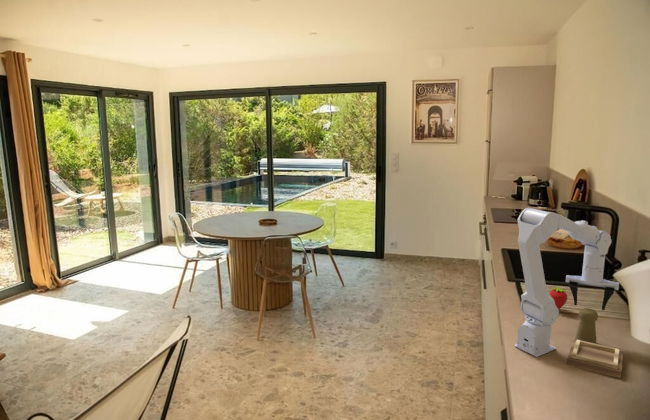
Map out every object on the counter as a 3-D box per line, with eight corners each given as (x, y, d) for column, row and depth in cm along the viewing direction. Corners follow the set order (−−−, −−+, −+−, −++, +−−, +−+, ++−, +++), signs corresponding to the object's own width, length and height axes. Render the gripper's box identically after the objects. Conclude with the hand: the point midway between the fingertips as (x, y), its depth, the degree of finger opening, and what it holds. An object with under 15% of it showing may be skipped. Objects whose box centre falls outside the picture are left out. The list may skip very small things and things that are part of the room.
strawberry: (550, 313, 162) (552, 287, 160) (546, 305, 169) (548, 280, 167) (568, 314, 160) (570, 288, 158) (563, 306, 167) (565, 281, 166)
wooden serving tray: (620, 378, 120) (621, 368, 119) (566, 364, 127) (567, 355, 127) (622, 357, 130) (623, 348, 130) (572, 346, 138) (573, 337, 137)
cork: (576, 336, 144) (579, 304, 142) (598, 341, 140) (601, 309, 138) (572, 343, 139) (575, 310, 137) (595, 348, 136) (598, 315, 134)
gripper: (620, 266, 139) (615, 306, 142) (568, 259, 147) (564, 298, 149) (620, 272, 134) (616, 314, 136) (566, 265, 141) (563, 305, 144)
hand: (589, 306), depth 142 cm, fingers open, 7 cm apart
